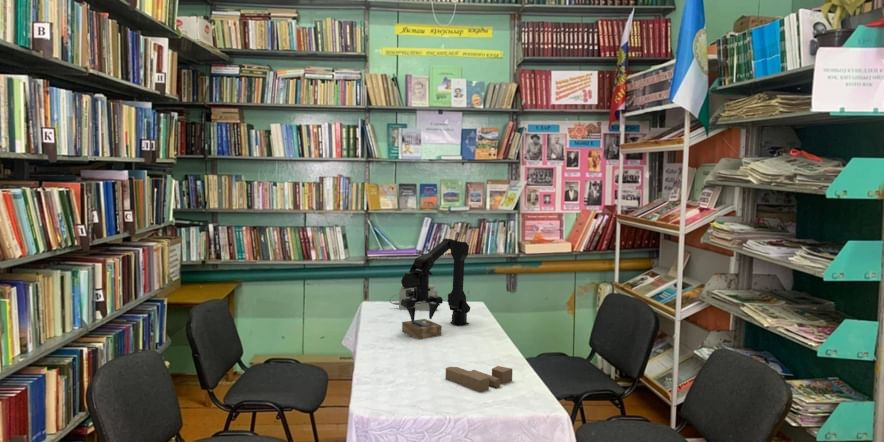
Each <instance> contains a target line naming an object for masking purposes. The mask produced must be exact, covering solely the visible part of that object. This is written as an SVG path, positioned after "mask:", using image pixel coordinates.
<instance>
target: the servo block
mask: <svg viewBox="0 0 884 442" xmlns="http://www.w3.org/2000/svg"><path fill="white" fill-rule="evenodd" d="M414 325H417V326H419V327H427V326H432V324H429V323H427V322H426V321H422V320H420V319H414Z"/></svg>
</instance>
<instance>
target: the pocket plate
mask: <svg viewBox="0 0 884 442" xmlns="http://www.w3.org/2000/svg"><path fill="white" fill-rule="evenodd" d="M419 320H422V321H426V322H427V323H429V324H432V326H427V327H419V326H417V325H414V322H412V320H407V321H402V322H401V323H402V325H401V333H403V334H406V335H408V336H410V337H411V338H414V339H417V340H423V339H428V338H435V337H441V336H442V327H443V326H442V325H441V324H438V323H436V322H433V321H431V320H430V319H427V318H422V319H421V318H420V319H419Z"/></svg>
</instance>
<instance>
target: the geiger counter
mask: <svg viewBox="0 0 884 442" xmlns="http://www.w3.org/2000/svg"><path fill="white" fill-rule="evenodd" d="M429 288H430V291H429V296H433V295H437V296H438V289H437V287H436V286H435V285H434V284H429ZM406 290H411V291H414V288H408V289H405V288H404V287H403V286H402V283H401V284H400V288H399V293H397V294H393V295H392V296H391V297H390V298H389V303H390V304H392V305H395V306H398V309H399V311H400V310H401V311H408V310H407V308H405V307H404V306H402V305H401V301H402V299H408V298H409V297H406ZM395 296H398V302H397V301H396V302H392V301H391V299H393V297H395ZM409 299H410V298H409ZM412 300H416V299H413V298H412ZM419 302H421V301H419ZM414 307H415V311H418V310H419V311H420V312H422V311H424V312H429V304H428V303H421V304H415V306H414ZM437 311H438V308H437V309H436V311H435V312H437Z"/></svg>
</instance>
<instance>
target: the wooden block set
mask: <svg viewBox="0 0 884 442" xmlns="http://www.w3.org/2000/svg"><path fill="white" fill-rule="evenodd" d="M445 379H446V380H449V381H451V382H453V383H456V384H459V385H460V386H462V387H464V388H468V389H470V390H473V391H475V392H477V393H481V392H486V391H488V390H490V386H491V387H493V388H496V389H498V388H499V387H500V386H501V385H504V384H507V383H509V382H513V368H510V367H505V366H499V365H496V366H494V367H493V368H491V374H488V373H485V372H481V371H479V370H475V369H471V370H467V369H464V368H462V367H459V366H448V367H446V368H445Z"/></svg>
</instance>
